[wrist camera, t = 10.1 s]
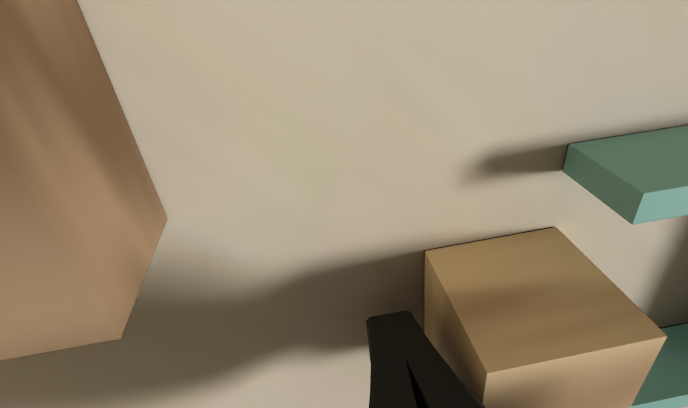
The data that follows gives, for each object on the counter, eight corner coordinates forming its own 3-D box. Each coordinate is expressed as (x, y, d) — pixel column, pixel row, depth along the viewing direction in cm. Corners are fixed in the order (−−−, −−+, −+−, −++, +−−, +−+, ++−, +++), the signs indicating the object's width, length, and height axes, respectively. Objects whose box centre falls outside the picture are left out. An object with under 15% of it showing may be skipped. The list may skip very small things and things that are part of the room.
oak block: (534, 318, 14) (616, 433, 11) (424, 340, 14) (473, 465, 10) (555, 226, 12) (667, 335, 9) (425, 251, 12) (487, 373, 8)
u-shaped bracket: (700, 332, 16) (764, 389, 14) (516, 369, 16) (554, 434, 14) (839, 101, 11) (973, 137, 9) (569, 144, 10) (643, 193, 8)
